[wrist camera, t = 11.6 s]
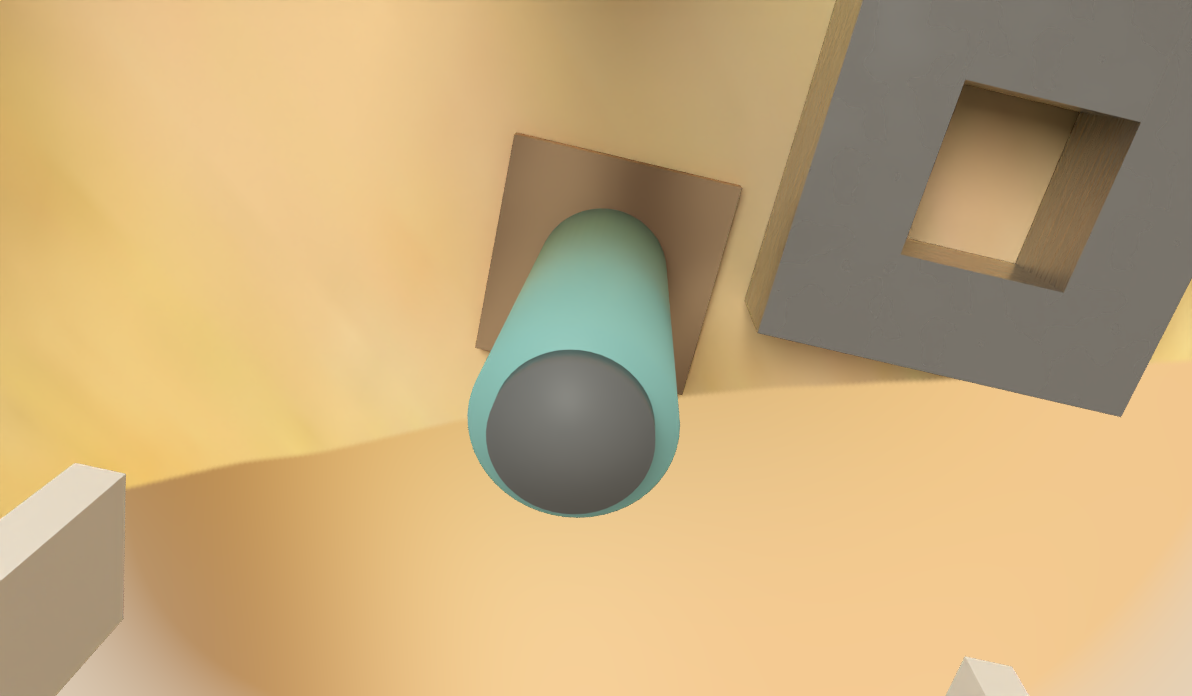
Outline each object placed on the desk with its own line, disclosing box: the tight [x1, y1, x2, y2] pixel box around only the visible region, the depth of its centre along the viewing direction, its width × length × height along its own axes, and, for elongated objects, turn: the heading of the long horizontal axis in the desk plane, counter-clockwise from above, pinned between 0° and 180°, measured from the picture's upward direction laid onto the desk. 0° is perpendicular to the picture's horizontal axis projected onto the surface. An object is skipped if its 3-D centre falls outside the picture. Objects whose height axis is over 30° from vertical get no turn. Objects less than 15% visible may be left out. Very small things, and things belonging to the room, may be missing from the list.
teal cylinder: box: [468, 208, 680, 518], centre depth 26 cm, size 5×5×15 cm
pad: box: [475, 133, 742, 395], centre depth 33 cm, size 9×9×1 cm
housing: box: [745, 0, 1192, 417], centre depth 30 cm, size 14×14×4 cm
